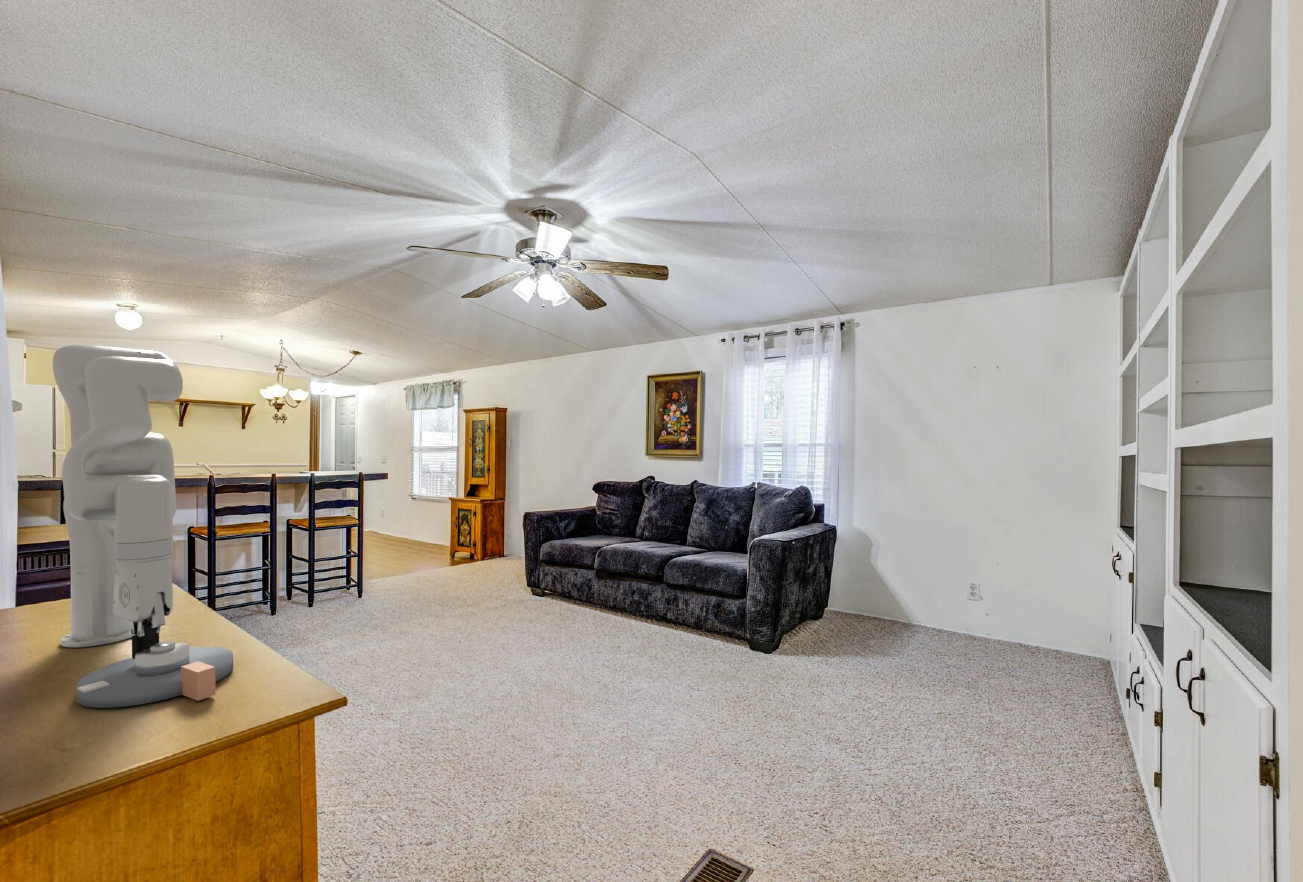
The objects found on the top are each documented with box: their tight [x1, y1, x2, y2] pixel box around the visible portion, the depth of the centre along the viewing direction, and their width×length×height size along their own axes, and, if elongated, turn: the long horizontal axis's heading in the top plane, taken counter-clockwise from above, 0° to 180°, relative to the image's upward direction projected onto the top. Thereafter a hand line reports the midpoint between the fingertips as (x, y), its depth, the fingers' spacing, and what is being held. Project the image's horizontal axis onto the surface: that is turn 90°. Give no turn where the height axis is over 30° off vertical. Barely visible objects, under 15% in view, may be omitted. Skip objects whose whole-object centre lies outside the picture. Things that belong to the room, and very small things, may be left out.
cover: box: [135, 640, 191, 677], centre depth 98 cm, size 7×7×4 cm
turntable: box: [75, 646, 234, 709], centre depth 97 cm, size 25×20×4 cm
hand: (145, 656), depth 100 cm, fingers closed
